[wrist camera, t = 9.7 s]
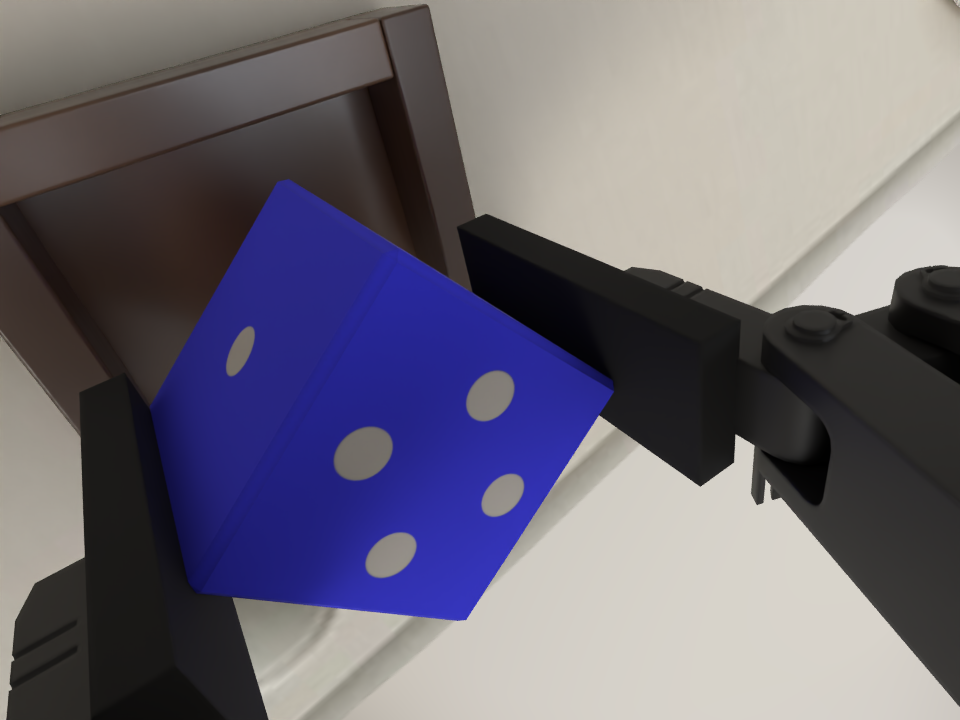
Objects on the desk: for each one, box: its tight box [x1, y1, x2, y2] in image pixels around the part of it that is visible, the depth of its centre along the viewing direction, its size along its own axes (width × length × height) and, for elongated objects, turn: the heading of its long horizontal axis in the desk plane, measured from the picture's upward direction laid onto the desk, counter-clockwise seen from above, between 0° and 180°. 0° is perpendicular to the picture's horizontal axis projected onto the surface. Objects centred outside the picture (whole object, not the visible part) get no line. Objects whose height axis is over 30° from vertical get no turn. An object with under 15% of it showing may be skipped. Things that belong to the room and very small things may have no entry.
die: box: [150, 179, 614, 621], centre depth 11 cm, size 5×5×5 cm
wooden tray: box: [0, 4, 475, 437], centre depth 15 cm, size 10×10×3 cm
